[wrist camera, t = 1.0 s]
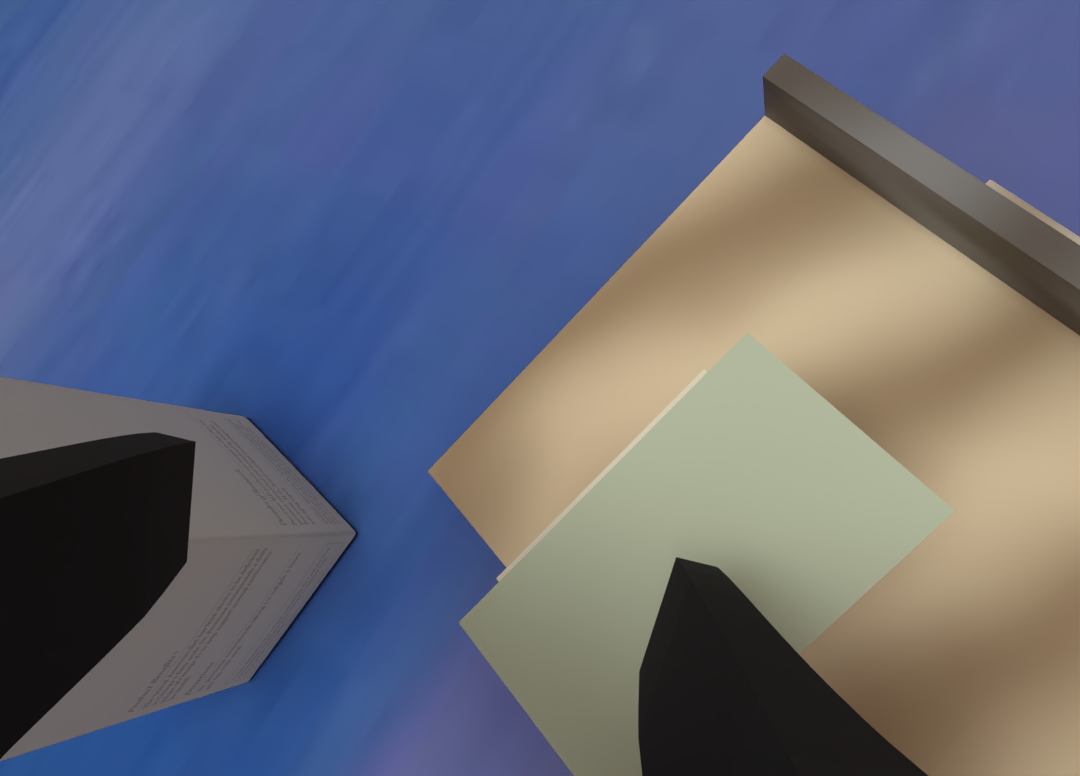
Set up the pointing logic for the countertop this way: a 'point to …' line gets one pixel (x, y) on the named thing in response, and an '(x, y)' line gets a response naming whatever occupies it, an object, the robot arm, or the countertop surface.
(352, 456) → the countertop surface
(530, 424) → the wooden serving tray
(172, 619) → the supplement box
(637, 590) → the carton
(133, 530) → the robot arm
